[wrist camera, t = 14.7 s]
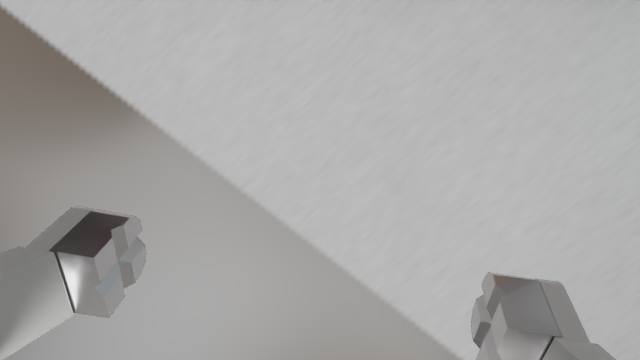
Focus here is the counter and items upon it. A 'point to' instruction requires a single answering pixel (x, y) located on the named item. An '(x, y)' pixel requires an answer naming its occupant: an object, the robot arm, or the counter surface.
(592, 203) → the counter surface
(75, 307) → the robot arm
